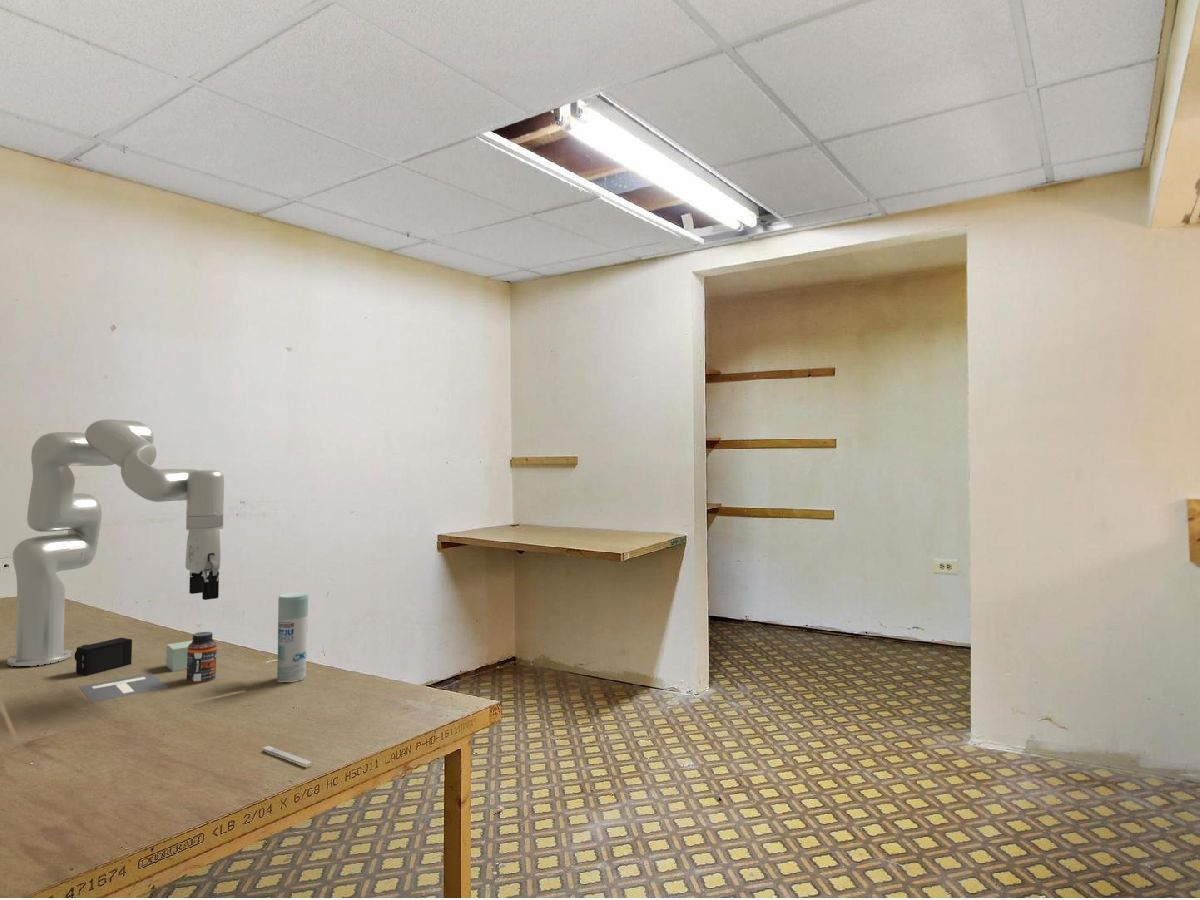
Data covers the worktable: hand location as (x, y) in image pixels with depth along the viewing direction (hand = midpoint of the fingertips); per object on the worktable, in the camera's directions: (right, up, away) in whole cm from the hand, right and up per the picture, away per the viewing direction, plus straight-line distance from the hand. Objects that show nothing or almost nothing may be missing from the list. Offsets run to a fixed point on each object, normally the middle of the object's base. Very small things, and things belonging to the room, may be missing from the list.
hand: (203, 595), depth 159 cm
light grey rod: (+38, -21, -40) cm, 59 cm away
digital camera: (-29, -20, +7) cm, 36 cm away
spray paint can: (+19, -21, +3) cm, 28 cm away
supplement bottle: (0, -20, 0) cm, 20 cm away
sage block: (-11, -20, +9) cm, 25 cm away
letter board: (-14, -20, -6) cm, 25 cm away
